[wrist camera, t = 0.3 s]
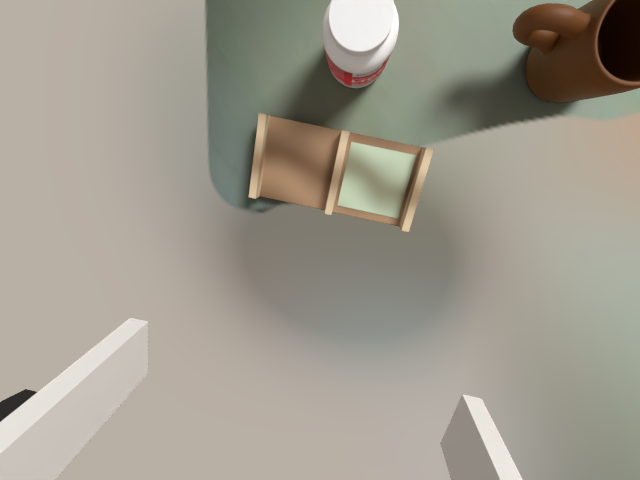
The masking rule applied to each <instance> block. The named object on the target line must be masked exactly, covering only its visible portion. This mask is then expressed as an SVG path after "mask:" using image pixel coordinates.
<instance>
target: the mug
mask: <svg viewBox="0 0 640 480" xmlns="http://www.w3.org/2000/svg"><path fill="white" fill-rule="evenodd" d="M513 35H514V38H515V39H516V40H517V41H519V42H520V43H522V44H524V45H527V46H530V47H532V48H531V50H530V53H529V55H528V58H527V63H526V79H527V82H528V85H529V87H530V89H531V90H532V92H533V93H534V94H535V95H536V96H537V97H539V98H540V99H542V100H545V101H548V102H553V103H565V102H572V101H578V100H583V99H590V98H596V97H601V96H606V95H612V94H617V93H622V92H626V91H630V90H634V89H637V88H640V0H592V1H591V2H589V3H587V4H586V5H584V6H582V7H580V8H579V9H576V8H574V7H572V6H569V5H564V4H552V3H547V4H541V5H537V6H534V7H531V8H529V9H527V10H526V11H524V12H523V13H522V14H521V15H520V16H519V17H518V18H517V19H516V21H515V23H514V25H513Z"/></svg>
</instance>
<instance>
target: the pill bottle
mask: <svg viewBox="0 0 640 480" xmlns="http://www.w3.org/2000/svg"><path fill="white" fill-rule="evenodd" d="M398 30H399V19H398V13H397V10H396V7H395V5H394V2H393V0H331V3H330V4H329V6H328V8H327V10H326V12H325V15H324V19H323V24H322V39H323V45H324V49H325V53H326V57H327V61H328V65H329V68H330V70H331V72H332V74H333V76H334V77H335V78H336V80H337V81H339V82H340V83H341V84H343V85H345V86H347V87H351V88H361V87H365V86H367V85H369V84H371V83H372V82H373V81H375V80H376V79H377V78H378V77H379V75H380V74H381V73H382V71H383V69H384V67H385V65H386V63H387V61H388V59H389V57H390V55H391V52H392V50H393V48H394V46H395V43H396V40H397V36H398Z"/></svg>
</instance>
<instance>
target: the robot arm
mask: <svg viewBox="0 0 640 480" xmlns="http://www.w3.org/2000/svg"><path fill="white" fill-rule="evenodd" d="M147 348H148V322H146V321H142V320H137V319H133V318H130V319H128V320H127V321H126V322H124V323H123V324H122V325H121V326H119V327H118V328H117V329H116V330H114V331H113V332H112V333H111V334H109V335H108V336H107V337H106V338H105V339H103V340H102V341H101V342H99V343H98V344H97V345H96V346H95V347H93V348H92V349H91V350H89V351H88V352H87V353H86V354H84V355H83V356H82V357H81V358H80V359H78V360H77V361H76V362H74V363H73V364H72V365H71V366H70V367H68V368H67V369H66V370H65V371H63V372H62V373H61V374H60V375H58V376H57V377H56V378H55V379H53V380H52V381H51V382H50V383H48V384H47V385H46V386H45V387H44V388H42V389H41V390H40V391H39V392H35V391H31V390H27V389H25V390H24V391H21V392H19V393H17V394H15V395H13V396H11V397H9V398H7V399H5V400H3V401H1V402H0V480H55V479H56V478H57V477H58V476H59V475H60V474H61V473H62V472H63V470H64V469H65V468H66V467H67V466H68V465H69V463H70V462H71V461H72V460H73V459H74V457H76V455H77V454H78V453H79V452H80V451H81V450H82V448H83V447H84V446H85V445H86V444H87V443H88V442H89V441H90V439H91V438H92V437H93V436H94V435H95V433H97V431H98V430H99V429H100V428H101V427H102V426H103V424H104V423H105V422H106V421H107V420H108V419H109V418H110V416H111V415H112V414H113V413H114V412H115V410H116V409H117V408H118V407H119V406H120V405H121V404H122V403H123V402H124V400H125V399H126V398H127V397H128V396H129V395H130V393H131V392H132V391H133V390H134V389H135V388H136V387H137V385H138V384H139V383H140V382H141V381H142V380H143V379H144V377H145V376H146V375H147V351H148V349H147ZM441 447H442V450H443V453H444V457H445V460H446V463H447V467H448V470H449V474H450V477H451V480H522V478H521V476H520V474H519V472H518V470H517V468H516V466H515V464H514V462H513V460H512V458H511V456H510V454H509V452H508V450H507V448H506V446H505V444H504V442H503V440H502V438H501V436H500V434H499V432H498V430H497V428H496V427H495V424H494V423H493V420H492V419H491V417H490V415H489V413H488V411H487V409H486V407H485V405H484V403H483V401H482V399H481V398H476V397H472V396H468V395H463V394H462V397H461V399H460V401H459V403H458V406H457V408H456V410H455V412H454V414H453V417H452V419H451V421H450V424H449V426H448V428H447V430H446V432H445V434H444V437H443V439H442V441H441Z"/></svg>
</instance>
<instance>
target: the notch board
mask: <svg viewBox="0 0 640 480" xmlns="http://www.w3.org/2000/svg"><path fill="white" fill-rule="evenodd" d="M433 151H434V149H429V148H422V147H417V146H412V145H407V144H403V143H398V142H393V141H388V140H383V139H379V138H374V137H369V136H364V135H360V134H355V133H350V132H348V131H343V130H342V131H340V130H336V129H331V128H326V127H321V126H316V125H312V124H307V123H302V122H297V121H293V120H288V119H283V118H278V117H273V116H269V115H266V114H262V113H259V117H258V125H257V133H256V141H255V149H254V157H253V165H252V173H251V181H250V189H249V197H250V198H254V199H256V198H258V197H259V196H262V197H266V198H271V199H275V200H280V201H285V202H289V203H294V204H298V205H304V206H308V207H312V208H317V209H322V210H325V214H328V215H332V212H335V213H340V214H345V215H349V216H354V217H359V218H363V219H368V220H372V221H377V222H382V223H386V224H391V225H396V226H399V227H400V229H401V230H402V231H407V232H409V229H410V226H411V223H412V219H413V216H414V212H415V210H416V206H417V203H418V200H419V197H420V193H421V190H422V187H423V184H424V180H425V177H426V174H427V170H428V167H429V164H430V161H431V157H432V154H433Z"/></svg>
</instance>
